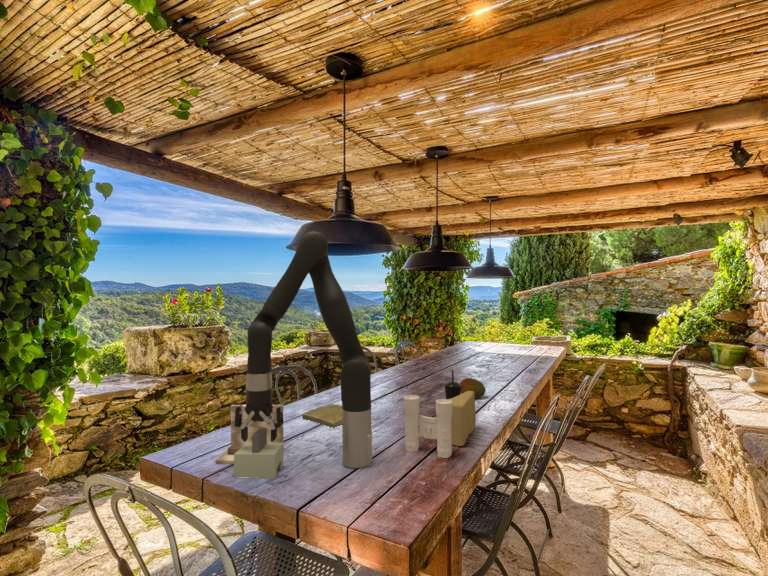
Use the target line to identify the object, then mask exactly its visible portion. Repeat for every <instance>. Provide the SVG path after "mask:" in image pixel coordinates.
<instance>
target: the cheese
mask: <svg viewBox="0 0 768 576" xmlns="http://www.w3.org/2000/svg"><path fill="white" fill-rule="evenodd" d="M448 400H451V401H452V418H451V443H452V444H454V445H459V446H463V445H464V446H465V444H466V442H467V440H466V439H468V438H469V436H470V435H471V434H472V433H473V432H474V431H473V429H474V428H475V429H476V424H477V423H476V419H477V418H476V398H475V394H474V391H466V392H464V393H463V394H462V393H461V394H460V395H458V396H456V397H454V398H451V399H448ZM475 429H474V430H475ZM472 431H473V432H472ZM471 432H472V433H471ZM470 433H471V434H470ZM469 434H470V435H469ZM468 435H469V436H468ZM467 437H468V438H467ZM465 441H466V442H465ZM464 446H463V447H464Z"/></svg>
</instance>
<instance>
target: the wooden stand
mask: <svg viewBox="0 0 768 576" xmlns="http://www.w3.org/2000/svg"><path fill="white" fill-rule="evenodd" d="M239 405H240V404H231V405H230V446H229V447H228V448H227V449H226V450H225V451H224V452H223V453H222V454H221V455H220V456H219V457H218V458H216V459H215V461H214V463H216V464H217V465H218V464H219V465H220V464H222V465H234V454H235V453H236V452H237V451H238V450H239V449H240V448H241V447H242V446H243V445H244V444H245V443H252V435H253V434H255V433H256V432H257V431H258V430H259V429H260V428H267V443H283V444H284V424H283V425H282V426H281V427H278V428H277V438H276V439H275V440H274V442H271V427H270V426H269V425H268V424H267V423H266V422H265V421H263V422H260V421H252V420H251V421H250V422H249V424H248V425H247V427H248V439H247V440H246V441H243V439H241V428H240V427H235V410H236V408H237V407H238V406H239ZM241 405H242V406H245V407H246V404H241ZM272 405H273V407H279V406H280V405H281V406H282V407H283V408H284V404H272ZM271 415H272V416H273V417H274V420H275V421H276V423H277V414H275V412H274V411H272V413H271ZM247 417H248V415H247V413H246V412H245V410H244V412H243V413H242V422H244V421H245V419H246V418H247Z"/></svg>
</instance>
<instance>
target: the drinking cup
mask: <svg viewBox="0 0 768 576" xmlns="http://www.w3.org/2000/svg"><path fill="white" fill-rule="evenodd" d="M454 371H455V369H452V370H451V381H448V382H445V383H443V386H444V392H445V399H451V398H454V397H456V396H458V395H460V394H462V393H461V386H462V384H460V383H459V382H458V381H455V380H454V379H455V377H454V373H455V372H454Z"/></svg>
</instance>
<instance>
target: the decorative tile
mask: <svg viewBox="0 0 768 576" xmlns="http://www.w3.org/2000/svg"><path fill="white" fill-rule="evenodd" d="M301 418H303V419H302V420H305V419H306V420H305V421H308V420H310V421H309V422H311V421H313V422H312V423H314V422H317V423H316V424H318V423H320V424H319V425H321V424H323V425H322V426H324V425H326V426H325V427H327V426H329V427H328V428H331V427H333V428H332V429H336V428H335V427H337V426H339V427H341V426H340V425H342V405H340V404H334V403H332V404H329V405H326V406H318V407H317V408H315V409H310V410H308V411H307V412H302V416H301ZM337 428H338V427H337Z"/></svg>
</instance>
